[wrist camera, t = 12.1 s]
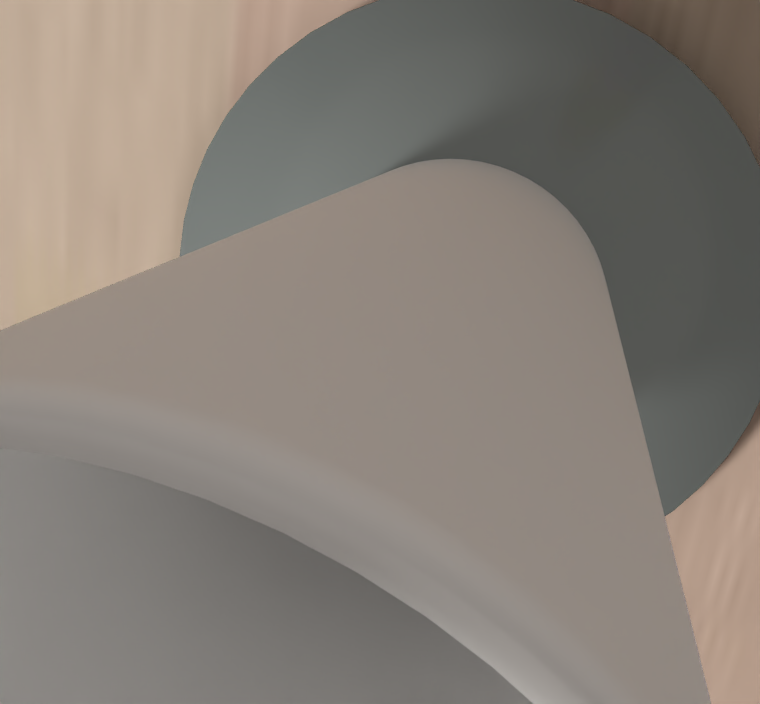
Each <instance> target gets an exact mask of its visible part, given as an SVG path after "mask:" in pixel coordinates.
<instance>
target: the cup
mask: <svg viewBox="0 0 760 704" xmlns="http://www.w3.org/2000/svg"><path fill="white" fill-rule="evenodd" d="M0 704H711V701H710V697H709V693H708V689H707V685H706V681H705V677H704V673H703V668H702V664H701V660H700V656H699V652H698V648H697V644H696V640H695V636H694V632H693V628H692V624H691V620H690V616H689V612H688V608H687V604H686V600H685V596H684V592H683V588H682V584H681V580H680V576H679V572H678V568H677V564H676V560H675V556H674V552H673V548H672V544H671V540H670V536H669V532H668V528H667V524H666V520H665V516H664V512H663V508H662V504H661V500H660V496H659V492H658V488H657V484H656V480H655V476H654V472H653V468H652V464H651V460H650V456H649V452H648V448H647V444H646V440H645V436H644V432H643V428H642V424H641V420H640V416H639V412H638V408H637V404H636V400H635V396H634V392H633V388H632V384H631V380H630V376H629V372H628V368H627V364H626V360H625V356H624V352H623V348H622V344H621V340H620V336H619V332H618V328H617V324H616V320H615V316H614V312H613V308H612V304H611V300H610V296H609V292H608V288H607V284H606V280H605V276H604V273H603V270H602V266H601V263H600V261H599V258H598V256H597V253H596V251H595V249H594V247H593V245H592V243H591V241H590V239H589V238H588V236H587V234H586V233H585V231H584V230H583V228H582V227H581V225H580V224H579V222H578V221H577V220H576V219H575V218H574V216H573V215H572V214H571V213H570V212H569V211H568V209H567V208H566V207H565V206H564V205H563V204H561V203H560V202H559V201H558V200H557V199H556V198H555V197H554V196H553V195H551V194H550V193H549V192H547V191H546V190H545V189H543V188H542V187H541V186H539V185H537V184H536V183H534V182H533V181H531V180H529V179H528V178H526V177H523V176H521V175H519V174H517V173H515V172H513V171H510V170H508V169H505V168H502V167H500V166H496V165H492V164H489V163H485V162H480V161H473V160H466V159H435V160H428V161H421V162H416V163H412V164H409V165H405V166H402V167H399V168H396V169H394V170H391V171H388V172H386V173H384V174H381V175H379V176H376V177H374V178H371V179H369V180H366V181H364V182H362V183H359V184H357V185H354V186H352V187H349V188H347V189H344V190H342V191H340V192H337V193H335V194H332V195H330V196H327V197H325V198H322V199H320V200H318V201H315V202H313V203H310V204H308V205H305V206H303V207H300V208H298V209H296V210H293V211H291V212H288V213H286V214H283V215H281V216H278V217H276V218H274V219H271V220H269V221H266V222H264V223H261V224H259V225H256V226H254V227H252V228H249V229H247V230H244V231H242V232H239V233H237V234H234V235H232V236H230V237H227V238H225V239H222V240H220V241H217V242H215V243H212V244H210V245H208V246H205V247H203V248H200V249H198V250H195V251H193V252H190V253H188V254H186V255H183V256H181V257H178V258H176V259H173V260H171V261H168V262H166V263H164V264H161V265H159V266H156V267H154V268H151V269H149V270H146V271H144V272H142V273H139V274H137V275H134V276H132V277H129V278H127V279H124V280H122V281H120V282H117V283H115V284H112V285H110V286H107V287H105V288H102V289H100V290H98V291H95V292H93V293H90V294H88V295H85V296H83V297H80V298H78V299H76V300H73V301H71V302H68V303H66V304H63V305H61V306H58V307H56V308H54V309H51V310H49V311H46V312H44V313H42V314H39V315H37V316H34V317H32V318H29V319H27V320H25V321H22V322H20V323H17V324H15V325H13V326H10V327H8V328H5V329H3V330H0Z"/></svg>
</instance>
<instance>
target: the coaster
mask: <svg viewBox="0 0 760 704" xmlns="http://www.w3.org/2000/svg"><path fill="white" fill-rule="evenodd" d="M435 159H466V160H473V161H480V162H485V163H489V164H492V165H496V166H500V167H502V168H505V169H508V170H510V171H513V172H515V173H517V174H519V175H521V176H523V177H526V178H528V179H529V180H531V181H533V182H534V183H536V184H537V185H539V186H541V187H542V188H543V189H545V190H546V191H547V192H549V193H550V194H551V195H553V196H554V197H555V198H556V199H557V200H558V201H559V202H560V203H561V204H563V205H564V206H565V207H566V208H567V209H568V211H569V212H570V213H571V214H572V215H573V216H574V218H575V219H576V220H577V221H578V222H579V224H580V225H581V227H582V228H583V230H584V231H585V233H586V234H587V236H588V238H589V239H590V241H591V243H592V245H593V247H594V249H595V251H596V253H597V256H598V258H599V261H600V263H601V266H602V270H603V273H604V276H605V280H606V284H607V288H608V292H609V296H610V300H611V304H612V308H613V312H614V316H615V320H616V324H617V328H618V332H619V336H620V340H621V344H622V348H623V352H624V356H625V360H626V364H627V368H628V372H629V376H630V380H631V384H632V388H633V392H634V396H635V400H636V404H637V408H638V412H639V416H640V420H641V424H642V428H643V432H644V436H645V440H646V444H647V448H648V452H649V456H650V460H651V464H652V468H653V472H654V476H655V480H656V484H657V488H658V492H659V496H660V500H661V504H662V508H663V512H664V516H666V515H668V514H669V513H671V512H672V511H674V510H675V509H676V508H677V507H678V506H679V505H681V504H682V503H683V502H684V501H685V500H686V499H687V498H688V497H690V496H691V495H692V494H693V493H694V492H695V491H696V490H698V489H699V488H700V487H701V486H702V485H703V484H704V483H705V482H706V481H707V479H708V478H709V477H710V476H711V475H712V474H713V472H714V471H715V470H716V469H717V468H718V467H719V466H720V464H721V463H722V462H723V461H724V460H725V459H726V457H727V456H728V455H729V453H730V452H731V450H732V449H733V447H734V446H735V444H736V443H737V441H738V440H739V438H740V437H741V435H742V433H743V432H744V430H745V429H746V427H747V426H748V424H749V423H750V421H751V418H752V416H753V414H754V412H755V410H756V408H757V406H758V403H759V401H760V167H759V165H758V163H757V161H756V159H755V157H754V155H753V153H752V151H751V149H750V147H749V145H748V143H747V141H746V139H745V137H744V135H743V134H742V132H741V131H740V130H739V128H738V127H737V125H736V124H735V122H734V121H733V119H732V118H731V117H730V115H729V114H728V112H727V111H726V109H725V108H724V106H723V105H722V104H721V102H720V101H719V99H718V98H717V97H716V96H715V95H714V94H713V93H712V92H711V91H710V90H709V89H708V88H707V87H706V86H705V85H704V83H703V82H702V81H701V80H700V79H699V78H698V77H697V76H696V75H695V74H694V73H693V72H692V71H691V70H690V69H689V68H688V67H687V66H686V65H685V64H684V63H683V62H681V61H680V60H679V59H677V58H676V57H675V56H674V55H672V54H671V53H670V52H668V51H667V50H666V49H665V48H663V47H662V46H661V45H660V44H658V43H657V42H656V41H654V40H653V39H652V38H651V37H649V36H647V35H645V34H644V33H642V32H640V31H638V30H637V29H635V28H633V27H631V26H629V25H628V24H626V23H624V22H622V21H621V20H619V19H617V18H615V17H614V16H612V15H610V14H608V13H605V12H602V11H600V10H597V9H594V8H592V7H589V6H587V5H584V4H581V3H579V2H576V1H574V0H379V1H376V2H373V3H371V4H368V5H365V6H363V7H360V8H357V9H355V10H352V11H350V12H347V13H345V14H343V15H342V16H340V17H338V18H336V19H334V20H333V21H331V22H329V23H327V24H325V25H323V26H322V27H320V28H318V29H316V30H314V31H313V32H311V33H309V34H308V35H307V36H305V37H304V38H303V39H301V40H300V41H299V42H297V43H296V44H295V45H293V46H292V47H291V48H289V49H288V50H287V51H285V52H284V53H283V54H281V55H280V56H279V57H278V58H276V59H275V60H274V61H273V62H272V63H271V64H270V65H269V66H268V67H267V68H266V69H265V70H264V71H263V72H262V73H261V74H260V75H259V76H258V77H257V78H256V79H255V80H254V81H253V82H252V83H251V84H250V85H249V87H248V88H247V89H246V91H245V92H244V93H243V95H242V96H241V97H240V99H239V100H238V101H237V102H236V104H235V105H234V106H233V108H232V109H231V110H230V112H229V113H228V114H227V116H226V117H225V119H224V121H223V122H222V124H221V126H220V128H219V129H218V131H217V133H216V135H215V137H214V138H213V140H212V142H211V144H210V145H209V147H208V149H207V151H206V154H205V156H204V159H203V161H202V164H201V166H200V169H199V171H198V174H197V176H196V179H195V181H194V184H193V187H192V191H191V195H190V199H189V203H188V207H187V211H186V214H185V218H184V225H183V233H182V241H181V249H180V257H181V256H183V255H186V254H188V253H190V252H193V251H195V250H198V249H200V248H203V247H205V246H208V245H210V244H212V243H215V242H217V241H220V240H222V239H225V238H227V237H230V236H232V235H234V234H237V233H239V232H242V231H244V230H247V229H249V228H252V227H254V226H256V225H259V224H261V223H264V222H266V221H269V220H271V219H274V218H276V217H278V216H281V215H283V214H286V213H288V212H291V211H293V210H296V209H298V208H300V207H303V206H305V205H308V204H310V203H313V202H315V201H318V200H320V199H322V198H325V197H327V196H330V195H332V194H335V193H337V192H340V191H342V190H344V189H347V188H349V187H352V186H354V185H357V184H359V183H362V182H364V181H366V180H369V179H371V178H374V177H376V176H379V175H381V174H384V173H386V172H388V171H391V170H394V169H396V168H399V167H402V166H405V165H409V164H412V163H416V162H421V161H428V160H435Z"/></svg>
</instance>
